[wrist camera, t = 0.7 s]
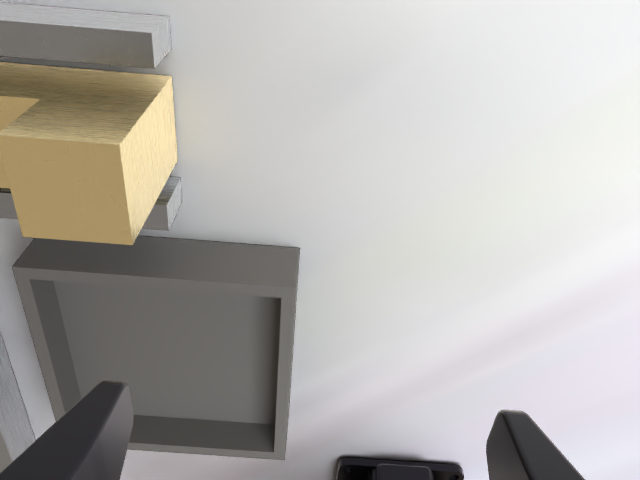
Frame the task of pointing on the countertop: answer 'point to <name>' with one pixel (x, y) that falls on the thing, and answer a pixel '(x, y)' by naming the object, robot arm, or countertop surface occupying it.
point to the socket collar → (11, 415)
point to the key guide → (90, 47)
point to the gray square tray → (169, 336)
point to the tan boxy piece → (84, 149)
